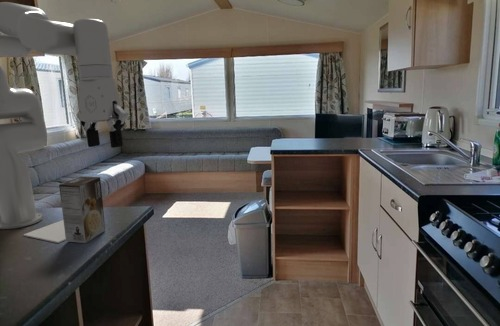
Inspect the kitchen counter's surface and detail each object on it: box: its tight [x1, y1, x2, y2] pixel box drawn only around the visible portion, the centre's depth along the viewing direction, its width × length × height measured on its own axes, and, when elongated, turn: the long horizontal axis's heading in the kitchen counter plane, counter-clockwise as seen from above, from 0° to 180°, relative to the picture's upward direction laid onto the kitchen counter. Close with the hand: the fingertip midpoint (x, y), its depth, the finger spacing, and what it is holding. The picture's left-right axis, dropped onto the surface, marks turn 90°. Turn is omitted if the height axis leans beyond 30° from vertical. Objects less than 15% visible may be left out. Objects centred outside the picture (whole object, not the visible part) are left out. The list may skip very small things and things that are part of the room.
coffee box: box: [58, 176, 106, 244], centre depth 100 cm, size 9×6×16 cm
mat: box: [23, 219, 66, 244], centre depth 108 cm, size 16×14×1 cm
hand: (105, 146), depth 91 cm, fingers open, 7 cm apart
